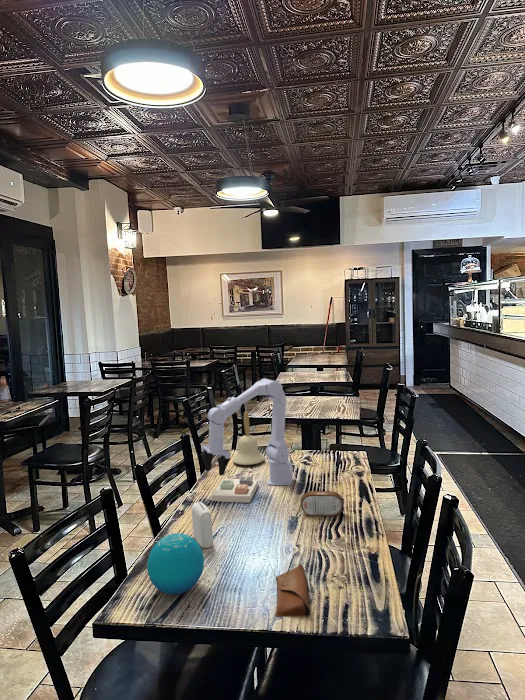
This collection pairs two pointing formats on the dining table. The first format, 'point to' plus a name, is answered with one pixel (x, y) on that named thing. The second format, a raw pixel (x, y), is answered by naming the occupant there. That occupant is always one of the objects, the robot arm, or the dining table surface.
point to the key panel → (230, 495)
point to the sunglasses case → (292, 593)
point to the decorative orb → (175, 563)
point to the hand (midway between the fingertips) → (214, 472)
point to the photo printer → (202, 525)
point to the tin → (321, 503)
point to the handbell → (247, 447)
